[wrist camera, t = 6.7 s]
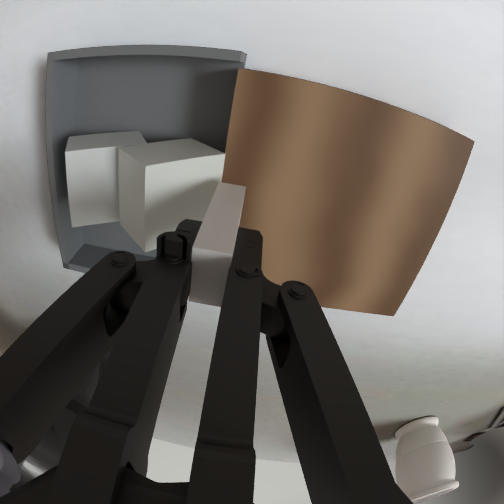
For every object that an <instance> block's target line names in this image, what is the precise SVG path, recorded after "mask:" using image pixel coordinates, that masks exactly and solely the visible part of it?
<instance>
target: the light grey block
mask: <svg viewBox="0 0 504 504" xmlns="http://www.w3.org/2000/svg"><path fill="white" fill-rule="evenodd" d="M140 144H147V142H146V141H145V139H144V138H143V136H142V134H141V133H140V131H128V132H113V133H100V134H90V135H80V136H71V137H69V138H68V142H67V146H66V150H65V160H66V175H67V188H68V198H69V207H70V215H71V223H72V227H79V226H86V225H94V224H101V223H109V222H116V221H120V214H119V175H118V161H119V148H121V147H127V146H133V145H140Z"/></svg>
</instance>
